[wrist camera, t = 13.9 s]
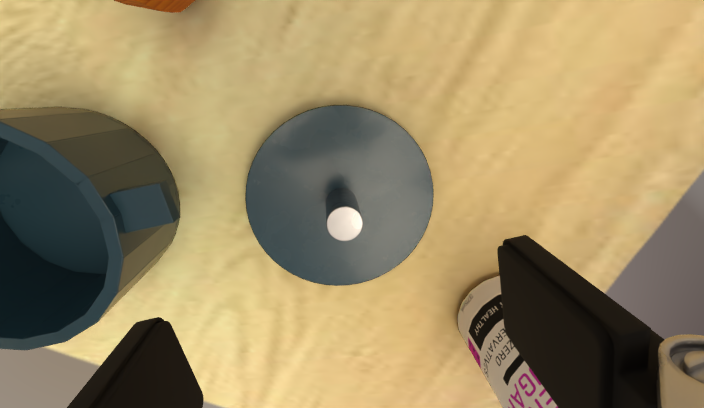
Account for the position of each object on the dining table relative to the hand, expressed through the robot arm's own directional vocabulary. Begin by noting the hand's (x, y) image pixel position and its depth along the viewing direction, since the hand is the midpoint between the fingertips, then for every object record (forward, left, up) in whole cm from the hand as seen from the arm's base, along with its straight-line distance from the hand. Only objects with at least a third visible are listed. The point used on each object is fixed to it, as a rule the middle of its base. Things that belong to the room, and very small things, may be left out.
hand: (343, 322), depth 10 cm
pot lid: (+2, 0, -18) cm, 19 cm away
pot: (-2, -19, -19) cm, 27 cm away
